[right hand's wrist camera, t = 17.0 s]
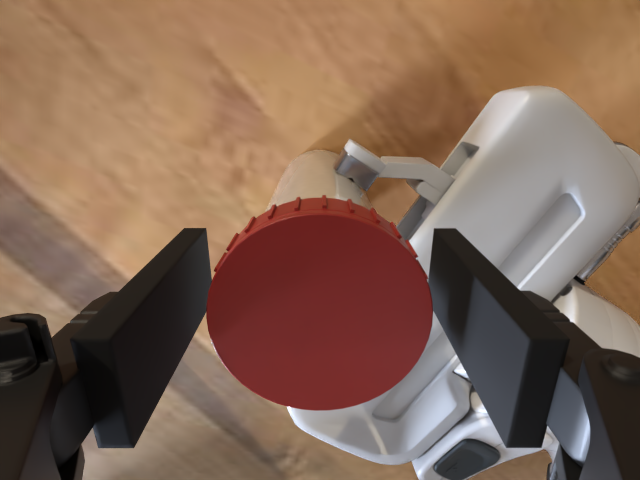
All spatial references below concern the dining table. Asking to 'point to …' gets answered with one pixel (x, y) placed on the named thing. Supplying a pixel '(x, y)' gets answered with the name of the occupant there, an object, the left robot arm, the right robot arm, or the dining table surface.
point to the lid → (319, 305)
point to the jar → (316, 181)
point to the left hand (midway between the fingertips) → (303, 211)
